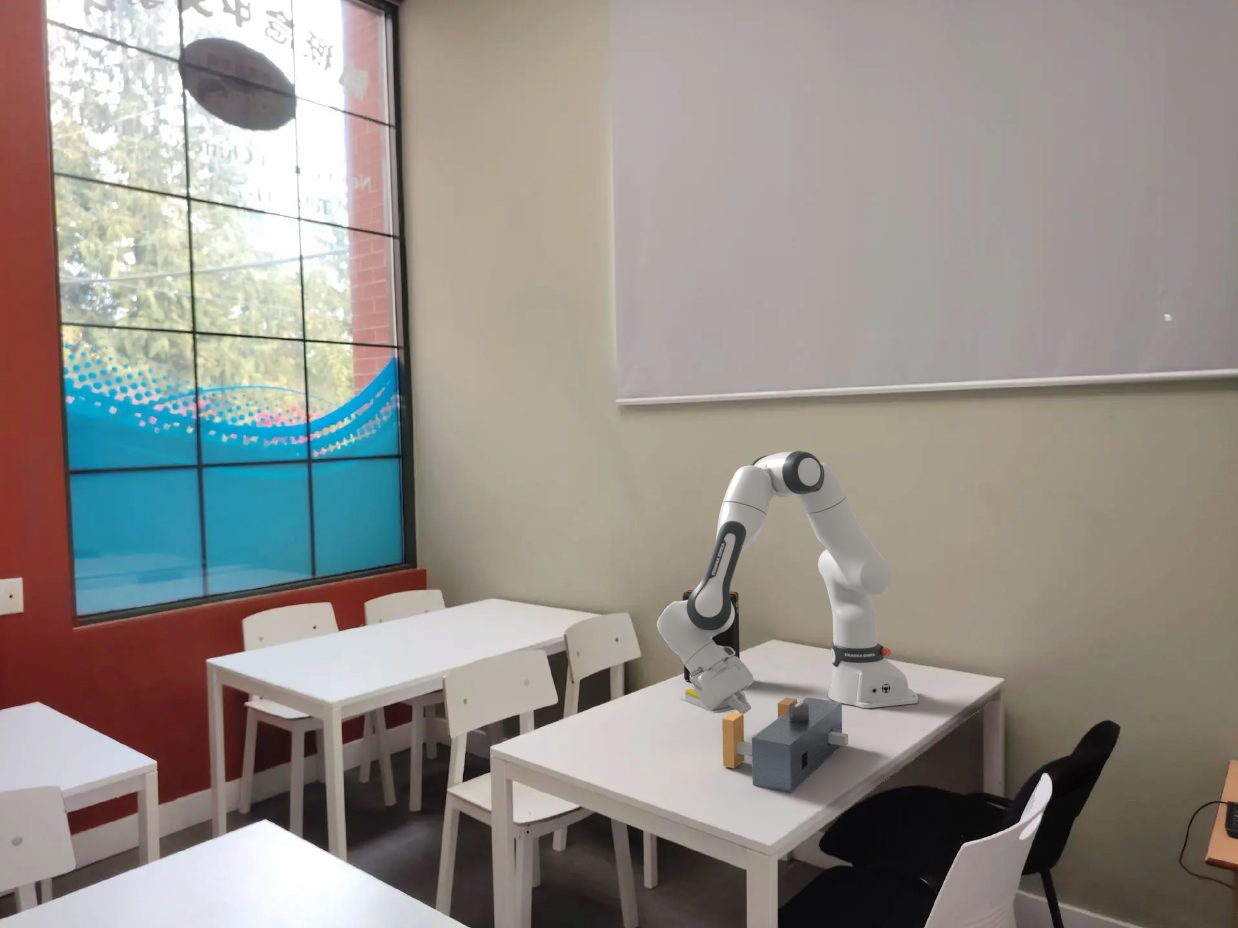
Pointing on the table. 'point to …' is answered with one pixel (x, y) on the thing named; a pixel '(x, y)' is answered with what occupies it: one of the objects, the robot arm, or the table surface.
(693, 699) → the emergency button
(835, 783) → the table surface
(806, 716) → the dial
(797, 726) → the mount
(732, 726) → the knob
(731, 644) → the black box
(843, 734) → the knob
